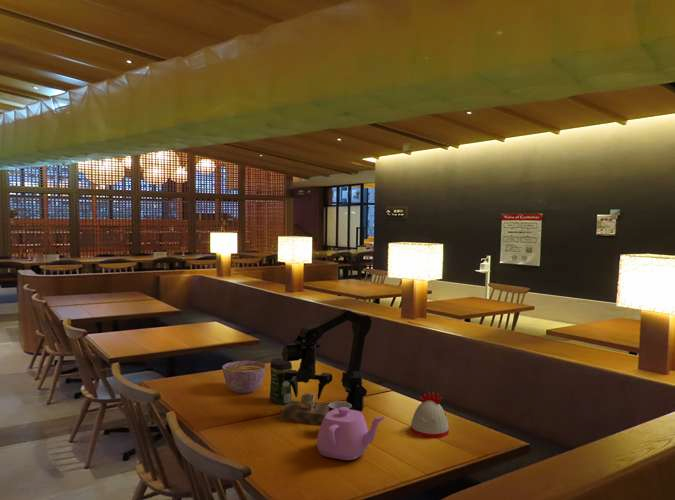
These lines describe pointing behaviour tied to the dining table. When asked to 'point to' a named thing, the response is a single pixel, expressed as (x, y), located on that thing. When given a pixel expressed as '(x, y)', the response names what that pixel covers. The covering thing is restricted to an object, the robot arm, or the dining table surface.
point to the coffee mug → (339, 405)
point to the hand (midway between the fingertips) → (307, 398)
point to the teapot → (345, 434)
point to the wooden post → (307, 401)
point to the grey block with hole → (304, 413)
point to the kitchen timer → (430, 418)
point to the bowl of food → (244, 375)
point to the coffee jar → (280, 381)
